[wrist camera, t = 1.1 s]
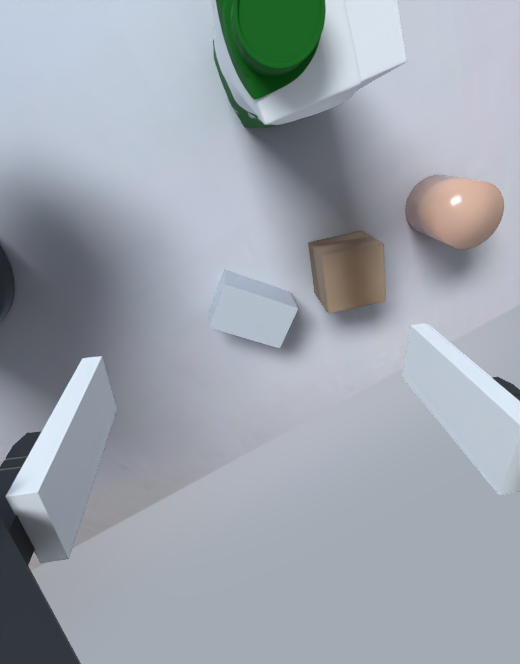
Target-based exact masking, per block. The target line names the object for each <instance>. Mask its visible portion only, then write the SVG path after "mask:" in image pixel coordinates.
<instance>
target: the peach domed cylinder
mask: <svg viewBox="0 0 520 664" xmlns="http://www.w3.org/2000/svg"><path fill="white" fill-rule="evenodd" d="M503 211H504V201H503V197H502V194H501V192H500V190H499V189H498V188H497V187H496V186H495V185H493V184H491V183H489V182H484V181H478V180H471V179H465V178H458V177H452V176H445V175H433V176H430V177H427V178H425V179H423V180H422V181H420V182H419V183H418V184H417V185H416V186H415V187H414V188H413V190H412V191H411V193H410V195H409V197H408V199H407V202H406V209H405V212H406V218H407V221H408V223H409V224H410V226H411V227H412V228H413V229H415V230H416V231H418V232H421V233H423V234H425V235H427V236H429V237H432V238H434V239H436V240H438V241H441V242H443V243H445V244H447V245H450V246H452V247H454V248H458V249H468V248H472V247H475V246H477V245H479V244H481V243H483V242H484V241H486V240H487V239H488V238H489V237H490V236H491V235H492V234H493V233H494V231H495V230H496V229H497V227H498V225H499V223H500V221H501V219H502V216H503Z"/></svg>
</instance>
